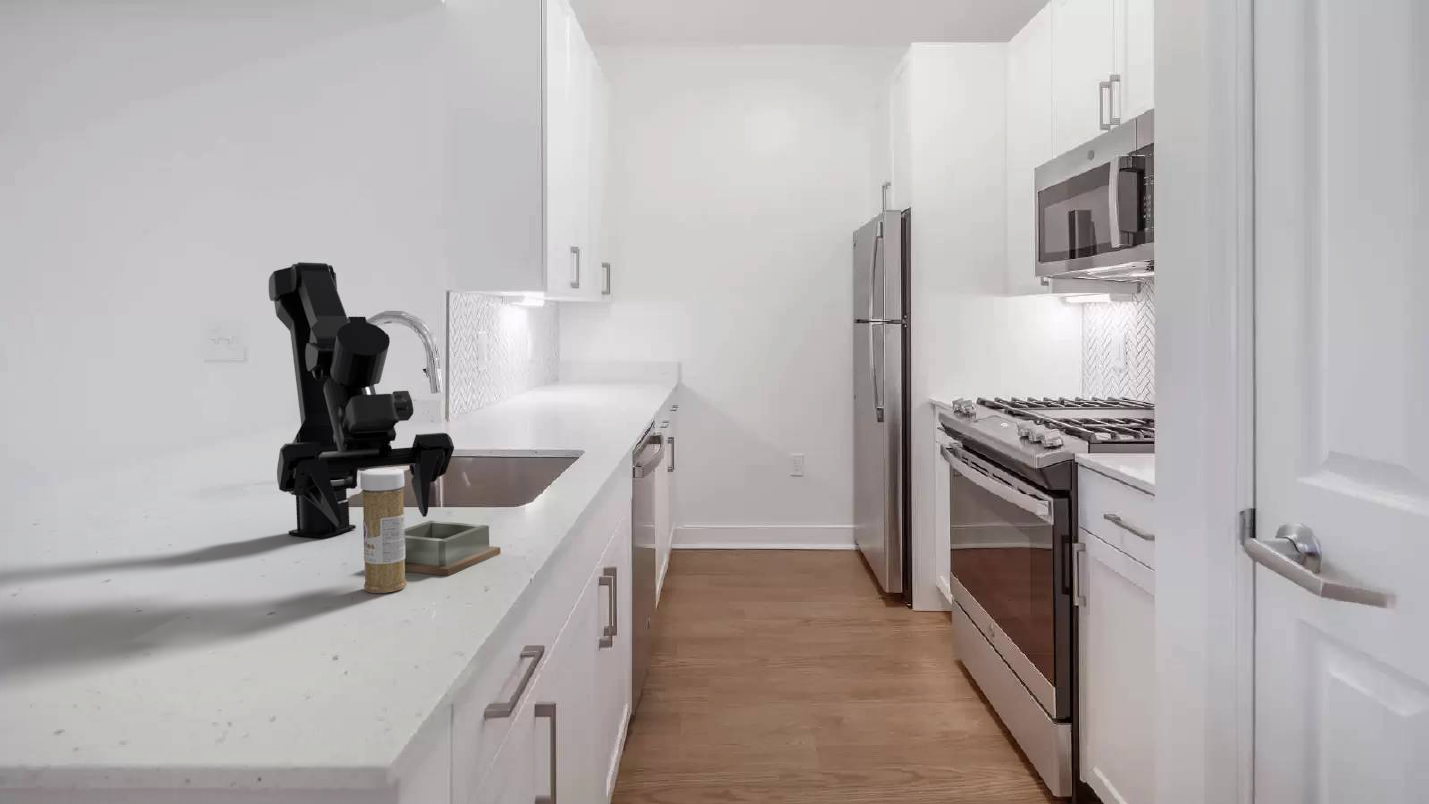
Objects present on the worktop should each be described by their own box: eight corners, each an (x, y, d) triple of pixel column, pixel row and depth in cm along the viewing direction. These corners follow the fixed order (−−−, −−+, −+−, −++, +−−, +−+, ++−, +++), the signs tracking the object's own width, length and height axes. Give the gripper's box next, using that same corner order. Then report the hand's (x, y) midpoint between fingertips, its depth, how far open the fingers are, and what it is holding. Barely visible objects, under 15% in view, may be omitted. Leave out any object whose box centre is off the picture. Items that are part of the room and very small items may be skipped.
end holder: (372, 567, 106) (371, 536, 106) (429, 546, 117) (429, 518, 116) (448, 576, 103) (447, 544, 102) (500, 553, 113) (499, 524, 113)
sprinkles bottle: (357, 588, 98) (353, 470, 97) (397, 580, 101) (393, 465, 100) (374, 597, 94) (369, 475, 93) (414, 588, 98) (410, 470, 96)
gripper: (276, 370, 95) (300, 485, 86) (446, 366, 105) (482, 467, 97) (267, 436, 102) (289, 547, 93) (428, 425, 112) (460, 524, 104)
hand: (384, 519), depth 97 cm, fingers open, 9 cm apart
